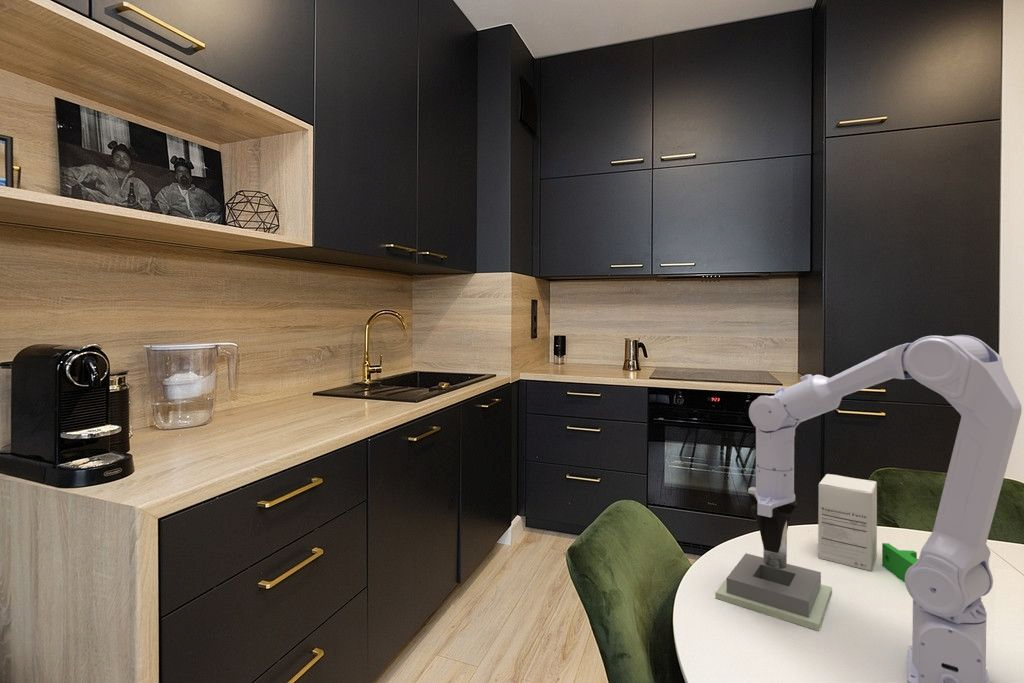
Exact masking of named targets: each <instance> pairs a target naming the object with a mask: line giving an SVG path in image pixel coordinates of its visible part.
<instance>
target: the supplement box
mask: <svg viewBox="0 0 1024 683" xmlns="http://www.w3.org/2000/svg"><path fill="white" fill-rule="evenodd" d="M877 483H878V482H877V481H875V480H869V479H863V478H862V479H861V478H855V477H849V476H843V475H839V474H830V473H827V474H825V475H824V476H823V478H822V479H821V481H819V483H818V513H817V514H818V515H817V516H818V519H817V521H818V522H817V524H818V528H817V529H818V532H817V534H818V539H817V540H818V541H817V542H818V544H817V545H818V548H817V550H818V553H817V554H818V557H817V558H818V559H821V560H822V559H823V560H826V561H828V562H833V563H838V564H842V565H845V566H850V567H853V568H858V569H862V570H864V571H865V570H866V571H869V572H870V571H871V572H872V571H873V568H874V565H875V562H876V559H877V555H878V548H877V547H878V542H877V541H878V540H877V539H878V536H877V534H878V529H877V528H878V525H877V524H878V521H877V520H878V503H877V501H878V492H877V491H878V484H877Z"/></svg>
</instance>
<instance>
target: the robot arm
mask: <svg viewBox="0 0 1024 683" xmlns="http://www.w3.org/2000/svg"><path fill="white" fill-rule="evenodd" d="M799 379H800V382H797V383H795V384H793V385H791V386H788V387H786V388H785V387H779V388H777V389H775V394H774V395H760V396H758V397H757V398H756V399H754V400H753V401H752V402H751V403H750V405H749V409H748V417H749V419H750V420H749V421H751V423H752V425H753V426H754V427H755V486H751V487H749V488H748V489H747V490H748V491H747V492H748V494H750V495H754V497H755V499H756V501H757V504H753V505H751V506H750V509H751V515H752V516H753V518H754V519H755V522H756V524H757V527H758V529H759V533H760V538H761V543H762V547H764V550H767V551H771V552H775V553H778V552H779V549H780V546H781V540H782V534H783V530H784V526H785V524H786V521H787V530H788V528H789V525H790V521H791V518H792V515H793V513H794V511H795V509H796V508H797V506H798V502H797V501H796V494H795V437H796V428H797V427H798V426H799V425H800V424H801V423H802V422H805V421H807V420H810V419H813V418H815V417H818V416H820V415H822V414H825V413H828V412H831V411H835V410H836V409H838V408H839V406H840V404H841V402H842V399H843V397H845V396H847V395H850V394H853V393H856V392H859V391H861V390H864V389H867V388H870V387H873V386H876V385H879V384H882V383H884V382H887V381H890V380H892V379H896V380H897V379H898V380H911V379H913V380H915V381H917V382H918V383H920V385H923V386H925V387H926V388H928V389H930V390H931V391H933V392H935V393H938V394H939V395H941V397H943V398H944V399H945V400H946V402H948V403H949V404H950V405H951V406H952V407H953V408H954V409H955V410H956V412H957V413H959V415H960V422H959V425H958V429H957V433H956V437H955V442H954V445H953V449H952V453H951V457H950V462H949V465H948V469H947V474H946V477H945V481H944V485H943V489H942V493H941V497H940V502H939V506H938V508H937V509H938V510H937V513H936V518H935V522H934V525H933V529H932V532H931V534H930V535H929V537H928V539H927V540H926V541H925V543H924V544H923V547H922V548H921V550H920V553H919V557H918V558H917V559H918V561H917V562H916V563H915V564H913V565H912V566H910V567H909V568H908V570H907V571H906V574H905V583H904V584H905V588H906V590H907V593H908V594H909V596H910V597H911V598H912V634H911V635H912V638H911V639H912V642H911V643H912V644H911V645H909V646H908V656H907V657H908V658H907V659H908V660H907V683H990V679H989V678H990V677H989V673H988V670H987V663H986V662H987V616H988V614H987V612H986V608H985V605H984V604H983V601H982V597H984V596H986V595H988V594H989V593H990V591H991V590H992V588H993V585H994V579H993V575H992V571H991V569H990V565H989V563H990V562H989V561H990V556H991V551H990V548H989V546H988V545H987V542H988V541H987V540H988V539H989V535H990V534H989V533H990V531H991V527H992V524H993V519H994V517H995V512H996V509H997V505H998V502H999V497H1000V493H1001V489H1002V486H1003V482H1004V479H1005V474H1006V471H1007V468H1008V464H1009V460H1010V456H1011V454H1012V449H1013V446H1014V441H1015V438H1016V435H1017V431H1018V427H1019V424H1020V419H1021V415H1022V404H1021V402H1020V399H1019V397H1018V396H1017V393H1016V391H1015V389H1014V388H1013V386H1012V384H1011V381H1010V379H1009V377H1008V375H1007V373H1006V371H1005V369H1004V364H1003V357H1002V356H1001V355H1000V354H998V353H997V352H996V351H995V350H994V349H992V348H991V347H990V346H989V345H988V344H987V343H985V341H982V340H981V339H980V338H977V337H975V336H971V335H969V334H968V335H967V334H966V335H965V334H956V335H951V336H950V335H948V336H943V335H927V336H923V337H920V338H917V340H916V339H915V341H913V342H906V343H903V344H899V345H896V346H894V347H891V348H890V349H887V350H885V351H882V352H880V353H878V354H876V355H874V356H872V357H870V358H868V359H866V360H864V361H862V362H859V363H858V364H856V365H853V366H852V367H850V368H847V369H845V370H843V371H842V372H839V373H837V374H835V375H833V376H831V377H828V376H824V375H822V374H815V375H813V374H810V373H809V374H804V375H803V376H801V377H800V378H799Z"/></svg>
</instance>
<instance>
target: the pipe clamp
mask: <svg viewBox="0 0 1024 683" xmlns="http://www.w3.org/2000/svg"><path fill="white" fill-rule="evenodd" d="M881 547H882V548H881V550H882V551H881V552H882V554H881V555H882V558H881V565H882V567H883V568H884V569H886V570H887V571H888V572H890V573H891V574H892V575H894V577H896V578H898V579H899V580H900V581H902V582H903V583H904V584H905V574H906V571H907V570H908V568H909V567H910V566H912V565H913V564H915V563H916V562H917V561H918V559H919V558H918V557H917V556H918V552H917V551H915V550H903V549H898V548H896V547H895V546H893V545H892V544H890V543H889V542H887V543H886V542H882V545H881Z"/></svg>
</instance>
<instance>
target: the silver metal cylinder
mask: <svg viewBox="0 0 1024 683" xmlns="http://www.w3.org/2000/svg"><path fill="white" fill-rule="evenodd" d="M787 542H788V529H787V521H786V524H785V526H784V530H783V534H782V540H781V546H780V549H779V552H778V553H775V552H771V551H767V550H764V547H763V546H762V547H763V552H762V553H763V554H762V555H763V556H762V557H763V563H764V564H765V565H767V566H769V567H772V568H776V569H784V568H786V567H787V564H788V563H787V562H788V561H787V557H788V546H787V544H788V543H787Z"/></svg>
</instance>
